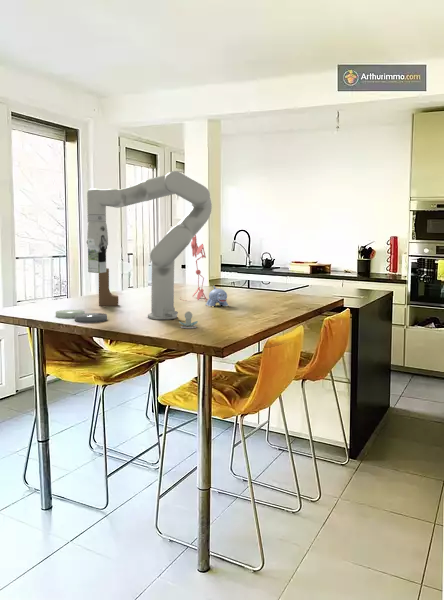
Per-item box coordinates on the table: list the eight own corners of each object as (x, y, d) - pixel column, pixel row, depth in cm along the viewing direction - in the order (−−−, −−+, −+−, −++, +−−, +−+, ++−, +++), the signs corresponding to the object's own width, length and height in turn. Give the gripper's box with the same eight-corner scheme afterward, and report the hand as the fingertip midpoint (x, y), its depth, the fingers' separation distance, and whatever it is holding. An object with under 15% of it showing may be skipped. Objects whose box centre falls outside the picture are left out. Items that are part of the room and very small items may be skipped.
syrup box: (106, 272, 226) (106, 238, 224) (99, 273, 221) (99, 238, 219) (95, 271, 228) (94, 237, 226) (87, 272, 223) (87, 237, 221)
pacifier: (198, 329, 205) (196, 326, 211) (198, 313, 204) (197, 310, 210) (179, 329, 204) (178, 326, 210) (179, 313, 203) (178, 310, 209)
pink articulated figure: (202, 295, 303) (202, 233, 298) (211, 302, 278) (210, 235, 273) (175, 296, 300) (174, 234, 295) (182, 303, 275) (181, 235, 270)
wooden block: (118, 304, 262) (118, 268, 260) (117, 306, 258) (117, 269, 255) (99, 304, 261) (99, 268, 259) (98, 306, 257) (98, 268, 254)
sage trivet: (89, 316, 228) (89, 312, 228) (64, 319, 220) (63, 315, 219) (76, 313, 237) (76, 308, 236) (50, 315, 228) (50, 311, 228)
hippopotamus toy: (212, 309, 256) (212, 289, 255) (203, 304, 270) (203, 285, 269) (233, 308, 259) (233, 289, 258) (223, 304, 273) (224, 285, 272)
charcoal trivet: (113, 320, 220) (113, 315, 219) (85, 324, 210) (85, 319, 210) (96, 316, 229) (95, 312, 228) (68, 320, 219) (68, 315, 219)
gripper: (115, 219, 217) (115, 262, 220) (94, 219, 230) (95, 259, 233) (98, 219, 213) (99, 262, 215) (78, 218, 226) (79, 260, 228)
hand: (97, 261), depth 224 cm, fingers closed on syrup box, 7 cm apart
